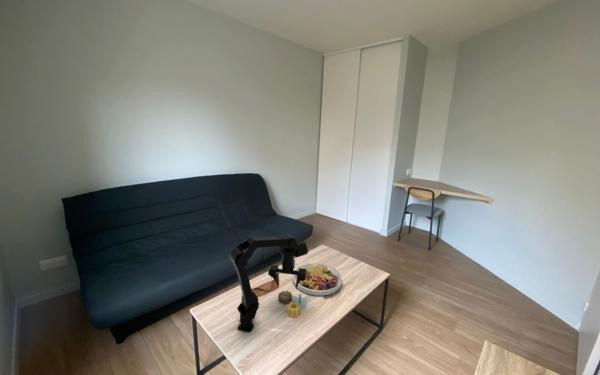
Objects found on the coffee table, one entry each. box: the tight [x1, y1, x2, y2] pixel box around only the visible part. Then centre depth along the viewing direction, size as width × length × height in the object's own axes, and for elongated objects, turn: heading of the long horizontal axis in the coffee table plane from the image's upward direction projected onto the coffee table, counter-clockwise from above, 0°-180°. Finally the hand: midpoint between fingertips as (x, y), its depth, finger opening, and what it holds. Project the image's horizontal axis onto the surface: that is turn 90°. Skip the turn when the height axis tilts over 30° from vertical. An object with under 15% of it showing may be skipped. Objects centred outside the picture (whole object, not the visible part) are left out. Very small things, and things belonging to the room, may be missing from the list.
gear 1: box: [277, 290, 293, 304], centre depth 129 cm, size 7×7×4 cm
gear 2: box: [286, 302, 302, 319], centre depth 120 cm, size 7×7×5 cm
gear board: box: [276, 293, 309, 309], centre depth 129 cm, size 8×16×6 cm, turn 79°
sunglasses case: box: [251, 279, 280, 298], centre depth 138 cm, size 18×7×7 cm, turn 132°
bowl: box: [292, 262, 343, 297], centre depth 147 cm, size 30×30×8 cm
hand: (287, 287), depth 122 cm, fingers open, 9 cm apart
